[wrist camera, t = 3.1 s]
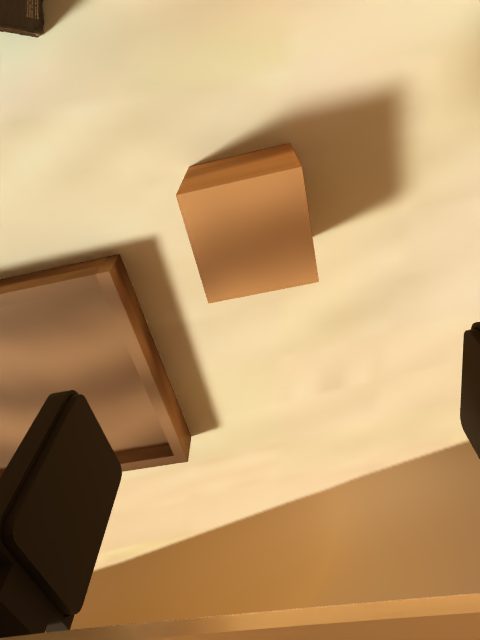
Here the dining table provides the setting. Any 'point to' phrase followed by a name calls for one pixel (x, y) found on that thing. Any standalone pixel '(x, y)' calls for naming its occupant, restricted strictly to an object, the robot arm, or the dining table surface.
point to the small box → (21, 17)
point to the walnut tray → (87, 361)
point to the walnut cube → (249, 223)
